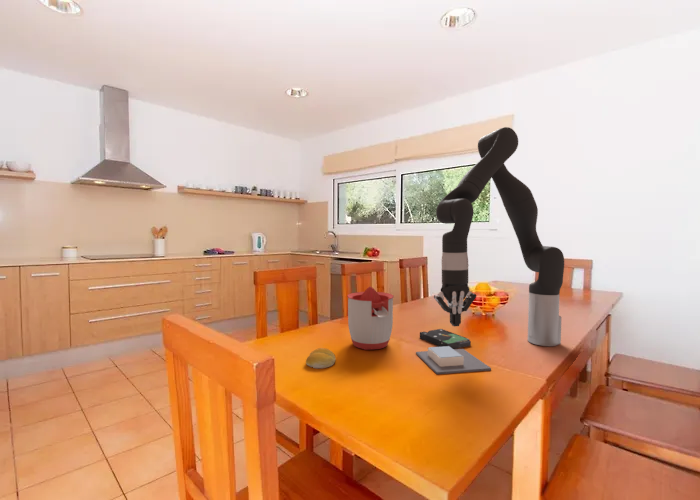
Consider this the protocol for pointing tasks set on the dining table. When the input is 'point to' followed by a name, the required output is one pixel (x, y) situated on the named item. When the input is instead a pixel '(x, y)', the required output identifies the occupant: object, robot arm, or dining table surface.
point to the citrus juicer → (370, 318)
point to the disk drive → (445, 338)
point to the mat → (468, 365)
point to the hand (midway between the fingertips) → (455, 325)
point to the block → (445, 356)
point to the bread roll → (321, 358)
